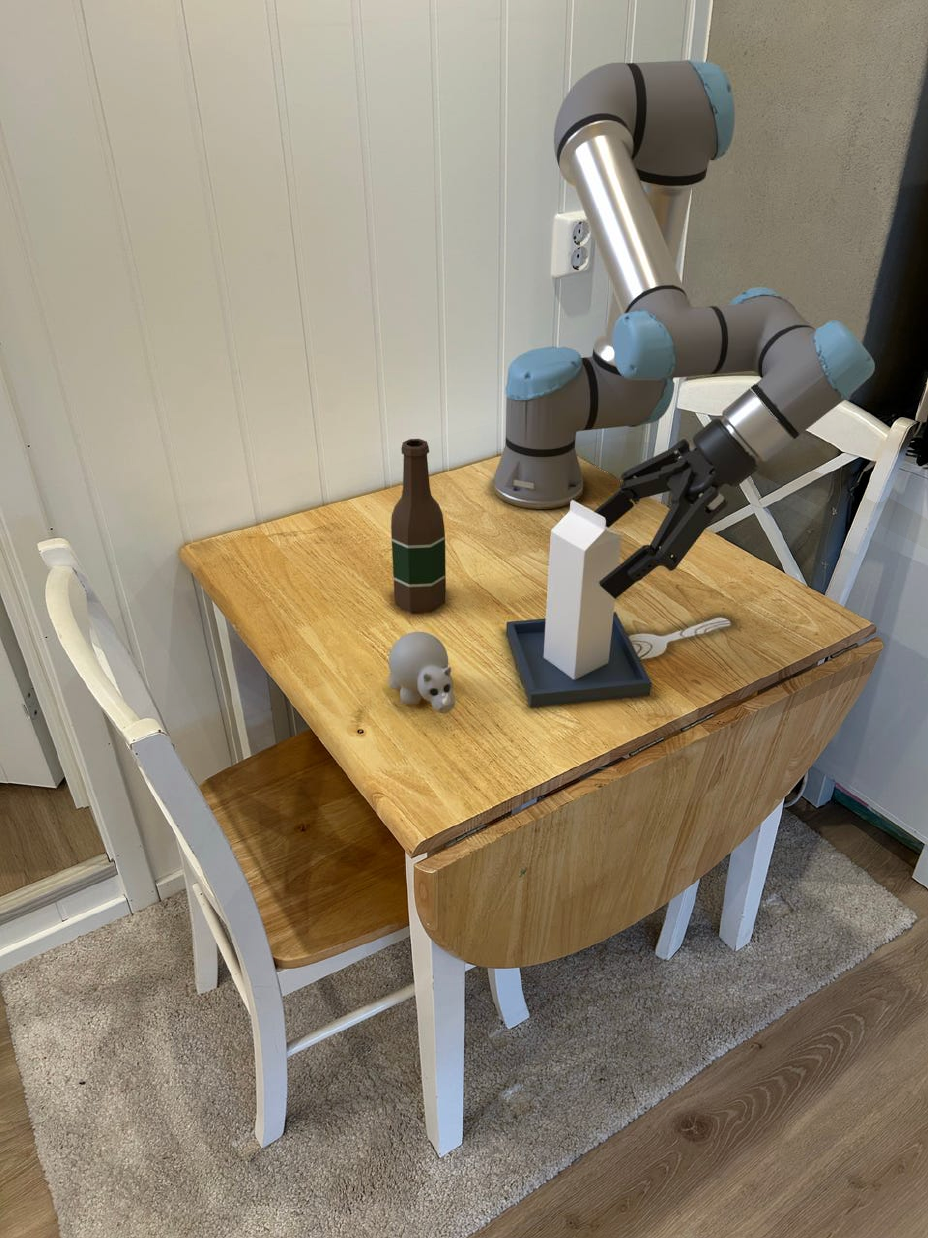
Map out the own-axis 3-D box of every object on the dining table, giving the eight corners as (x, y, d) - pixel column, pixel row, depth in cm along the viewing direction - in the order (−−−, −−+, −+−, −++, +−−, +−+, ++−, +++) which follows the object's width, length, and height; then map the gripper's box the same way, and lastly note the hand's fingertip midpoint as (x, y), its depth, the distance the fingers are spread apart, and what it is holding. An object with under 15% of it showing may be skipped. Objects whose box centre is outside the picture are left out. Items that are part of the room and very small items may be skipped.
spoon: (740, 633, 130) (741, 630, 129) (628, 667, 123) (628, 664, 123) (716, 613, 134) (716, 609, 133) (606, 645, 127) (606, 641, 127)
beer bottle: (454, 590, 138) (453, 434, 124) (436, 619, 132) (433, 459, 118) (404, 581, 140) (397, 427, 126) (384, 609, 134) (375, 450, 120)
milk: (574, 681, 120) (586, 527, 107) (542, 657, 124) (550, 506, 111) (609, 663, 123) (625, 511, 110) (577, 640, 127) (589, 491, 114)
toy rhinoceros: (418, 742, 111) (416, 685, 106) (381, 683, 120) (378, 628, 115) (474, 725, 113) (474, 668, 109) (434, 669, 122) (433, 614, 118)
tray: (506, 634, 129) (506, 621, 128) (614, 624, 131) (615, 611, 129) (530, 708, 116) (531, 694, 115) (650, 695, 118) (652, 682, 117)
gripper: (797, 514, 98) (638, 637, 106) (727, 417, 119) (598, 527, 127) (755, 468, 95) (594, 599, 103) (691, 377, 116) (560, 492, 123)
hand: (596, 559), depth 115 cm, fingers open, 13 cm apart
